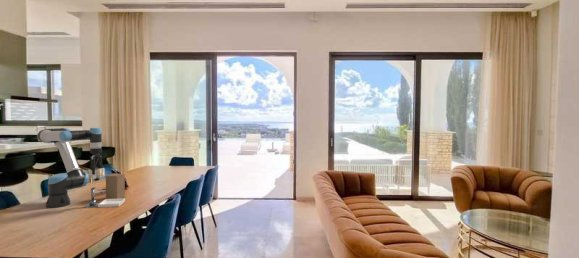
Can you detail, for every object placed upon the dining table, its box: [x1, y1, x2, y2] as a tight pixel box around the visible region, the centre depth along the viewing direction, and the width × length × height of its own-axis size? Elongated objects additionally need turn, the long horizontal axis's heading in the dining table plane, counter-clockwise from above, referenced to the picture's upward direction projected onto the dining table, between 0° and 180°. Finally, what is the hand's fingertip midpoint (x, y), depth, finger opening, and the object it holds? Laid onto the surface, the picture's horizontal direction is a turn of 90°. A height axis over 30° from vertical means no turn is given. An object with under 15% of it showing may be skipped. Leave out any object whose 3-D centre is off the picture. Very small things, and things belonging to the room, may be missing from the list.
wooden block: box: [105, 173, 126, 199], centre depth 254 cm, size 10×10×20 cm
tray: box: [97, 197, 126, 208], centre depth 239 cm, size 15×15×2 cm
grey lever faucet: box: [83, 186, 100, 209], centre depth 234 cm, size 9×9×14 cm
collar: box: [86, 167, 106, 179], centre depth 233 cm, size 8×10×6 cm
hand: (96, 177), depth 233 cm, fingers closed on collar, 8 cm apart
